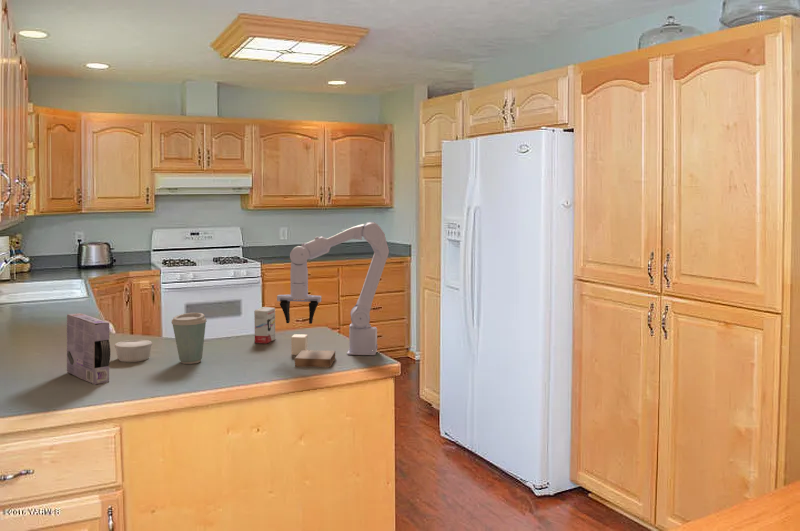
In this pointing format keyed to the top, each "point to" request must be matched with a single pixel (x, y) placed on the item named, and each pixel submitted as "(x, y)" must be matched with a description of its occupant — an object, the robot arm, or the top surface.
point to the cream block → (298, 343)
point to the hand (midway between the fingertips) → (299, 323)
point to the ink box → (264, 325)
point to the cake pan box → (88, 348)
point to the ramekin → (133, 350)
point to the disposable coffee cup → (189, 336)
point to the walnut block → (315, 358)
